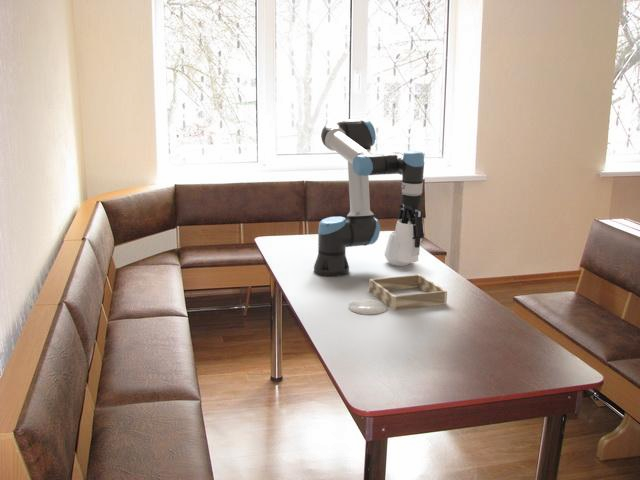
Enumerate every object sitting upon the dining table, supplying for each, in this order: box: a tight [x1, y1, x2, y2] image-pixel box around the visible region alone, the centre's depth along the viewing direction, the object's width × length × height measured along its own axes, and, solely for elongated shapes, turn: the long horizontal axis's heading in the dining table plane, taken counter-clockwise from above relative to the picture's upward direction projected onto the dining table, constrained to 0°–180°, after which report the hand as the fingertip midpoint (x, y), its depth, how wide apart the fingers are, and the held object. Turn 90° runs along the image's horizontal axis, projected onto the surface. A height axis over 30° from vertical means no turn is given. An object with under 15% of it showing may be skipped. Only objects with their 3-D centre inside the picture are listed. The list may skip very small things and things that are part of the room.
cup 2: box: [394, 219, 425, 264], centre depth 250 cm, size 11×11×15 cm
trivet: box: [348, 299, 388, 316], centre depth 244 cm, size 14×14×1 cm
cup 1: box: [383, 230, 410, 267], centre depth 300 cm, size 13×13×14 cm
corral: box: [368, 274, 448, 311], centre depth 255 cm, size 22×22×5 cm
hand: (408, 251), depth 251 cm, fingers closed on cup 2, 11 cm apart
